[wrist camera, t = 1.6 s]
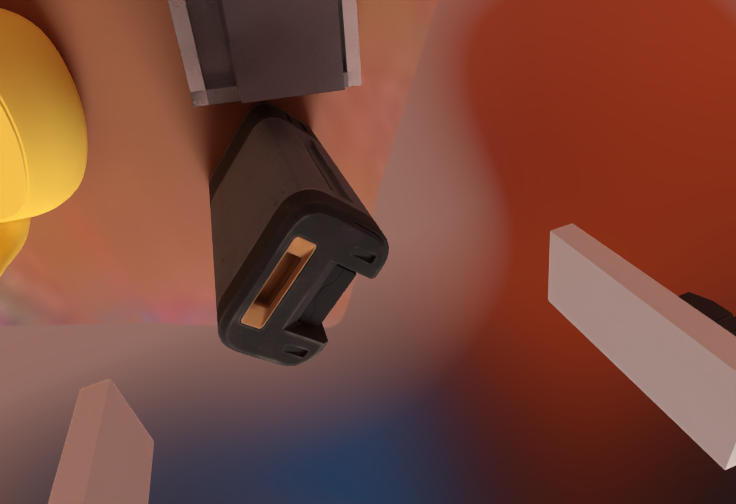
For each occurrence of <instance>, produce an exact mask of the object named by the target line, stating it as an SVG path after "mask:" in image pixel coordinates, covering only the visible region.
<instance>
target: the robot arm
mask: <svg viewBox="0 0 736 504" xmlns="http://www.w3.org/2000/svg"><path fill="white" fill-rule="evenodd" d="M548 300H549V302H551V303H552V304H553V305H554V306H555V307H556V308H557V309H558V310H559V311H560V312H561V313H562V314H563V315H564V316H565V317H566V318H567V319H568V320H569V321H570V322H571V323H573V324H574V326H575V327H577V328H578V329H579V330H580V331H581V332H582V333H583V334H584V335H585V336H586V337H587V338H588V339H589V340H590V341H591V342H592V343H593V344H594V345H595V346H596V347H598V348H599V350H601V351H602V352H603V353H604V354H605V355H606V356H607V357H608V358H609V359H610V360H611V361H612V362H613V363H614V364H615V365H616V366H617V367H618V368H619V369H620V370H621V371H622V372H624V373H625V374H626V376H628V377H629V378H630V379H631V380H632V381H633V382H634V383H635V384H636V385H637V386H638V387H639V388H640V389H641V390H642V391H643V392H644V393H645V394H646V395H647V396H648V397H649V398H650V399H652V401H654V402H655V403H656V404H657V405H658V406H659V407H660V408H661V409H662V410H663V411H664V412H665V413H666V414H667V415H668V416H669V417H670V418H671V419H672V420H673V421H675V423H676V424H677V425H679V426H680V427H681V428H682V429H683V430H684V431H685V432H686V433H687V434H688V435H689V436H690V437H691V438H692V439H693V440H694V441H695V442H696V443H697V444H698V445H699V446H700V447H701V448H703V450H705V451H706V452H707V453H708V454H709V455H710V456H711V457H712V458H713V459H714V460H715V461H716V462H717V463H718V464H719V465H720V466H721V467H722V468H723V469H724V470H726V469H729V468H731V467H733V466H735V465H736V317H734V316H733V314H732V313H731V312H729V311H728V310H726V309H724V308H723V307H721V306H720V305H718V304H717V303H715V302H714V301H712V300H709V299H706V298H703V297H701V296H698V295H695V294H693V293H690V292H688V293H686V294H683V295H680V296H676V295H675V294H673V293H672V292H671V291H669V290H668V289H666V288H665V287H664V286H662V285H660V284H659V283H658V282H656V281H655V280H653V279H652V278H650V277H649V276H648V275H646V274H645V273H643V272H642V271H640V270H639V269H637V268H636V267H634V266H633V265H632V264H630V263H629V262H627V261H626V260H624V259H623V258H622V257H620V256H619V255H617V254H616V253H614V252H613V251H612V250H610V249H609V248H607V247H606V246H604V245H603V244H601V243H600V242H599V241H597V240H596V239H594V238H593V237H591V236H590V235H588V234H587V233H585V232H584V231H583V230H581V229H580V228H578V227H577V226H575V225H574V224H569V225H566V226H563V227H560V228H557V229H554V230H552V231H550V255H549V286H548ZM153 445H154V441H153V439H152V438H151V437H150V435H149V434H148V432H147V431H146V429H145V428H144V427H143V425H142V424H141V422H140V421H139V420H138V418H137V416H136V415H135V413H134V412H133V411H132V409H131V408H130V406H129V405H128V403H127V402H126V400H125V399H124V397H123V396H122V395H121V393H120V392H119V390H118V389H117V388H116V386H115V385H114V383H113V382H112V380H111V379H110V378H109V379H106V380H103V381H100V382H98V383H94V384H91V385H88V386H86V387H83V388H80V392H79V395H78V398H77V402H76V405H75V409H74V413H73V416H72V420H71V423H70V427H69V430H68V434H67V438H66V441H65V445H64V448H63V452H62V456H61V459H60V463H59V466H58V470H57V474H56V477H55V480H54V484H53V487H52V491H51V495H50V498H49V502H48V504H148V498H149V488H150V477H151V466H152V456H153Z"/></svg>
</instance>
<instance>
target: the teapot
mask: <svg viewBox="0 0 736 504" xmlns="http://www.w3.org/2000/svg"><path fill="white" fill-rule="evenodd" d="M87 153H88V136H87V126H86V120H85V115H84V110H83V107H82V103H81V100H80V96H79V94H78V91H77V89H76V86H75V83H74V81H73V79H72V77H71V75H70V73H69V70H68V68H67V67H66V65H65V63H64V61H63V59H62V57H61V56H60V54H59V52H58V51H57V49H56V48H55V46H54V45H53V43H52V42H51V40H50V39H49V38H48V37H47V36H46V35H45V34H44V32H43V31H42V30H41V29H40V28H38V27H37V26H36V25H35V24H33V23H32V22H31V21H29V20H27V19H26V18H24V17H22V16H21V15H19V14H16V13H13V12H11V11H8V10H5V9H1V8H0V277H1V275H2V273H3V272H4V270H5V269H6V268H7V266H8V265H9V264H10V263H11V261H12V260H13V259H14V258H15V256H16V255H17V254H18V252H19V251H20V250H21V248H22V246H23V245H24V243H25V241H26V238H27V236H28V232H29V227H30V221H31V217H34V216H37V215H40V214H43V213H45V212H48V211H50V210H52V209H54V208H56V207H58V206H59V205H60V204H62V203H63V202H64V201H66V200H67V199H68V198H69V197H70V196H71V195H72V194H73V193H74V192H75V191H76V190H77V188H78V187H79V185H80V183H81V181H82V179H83V176H84V172H85V168H86V162H87Z"/></svg>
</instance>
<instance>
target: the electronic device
mask: <svg viewBox="0 0 736 504" xmlns="http://www.w3.org/2000/svg"><path fill="white" fill-rule="evenodd" d="M209 193H210V208H211V224H212V241H213V257H214V274H215V290H216V306H217V321H218V334H219V337H220V339H221V341H222V343H223V344H224V345H226V346H227V347H228V348H230V349H232V350H234V351H237V352H240V353H243V354H246V355H250V356H253V357H256V358H259V359H263V360H266V361H269V362H273V363H276V364H280V365H285V366H296V365H300V364H304V363H306V362H308V361H310V360H311V359H313V358H314V357H315V356H316V355H318V354H319V352H320V351H321V350H322V349H323V348H324V347H325V345H326V344H327V343H328V339H327V336H326V334H325V331H324V328H323V325H322V322H323V320H324V319H325V317H326V316H327V315H328V313H329V312H330V310H331V309H332V308H333V306H334V305H335V304H336V302H337V301H338V299H339V298H340V297H341V295H342V294H343V292H344V291H345V290H346V288H347V287H348V286H349V284H350V283H351V281H352V280H353V279H354V277H355V276H356V272H357V273H359V274H361V275H364V276H366V277H368V278H370V279H372V278H375V277H376V276H377V274H378V273H379V271H380V270H381V269H382V267H383V265H384V264H385V261H386V259H387V256H388V250H389V246H388V242H387V239H386V237H385V236H384V234H383V233H382V231H381V230H380V229H379V227H378V225H377V224H376V222H375V221H374V220H373V218H372V217H371V215H370V214H369V212H368V211H367V210H366V208H365V207H364V205H363V204H362V202H361V201H360V199H359V198H358V197H357V195H356V194H355V192H354V191H353V189H352V188H351V186H350V185H349V183H348V182H347V181H346V179H345V178H344V176H343V175H342V173H341V172H340V170H339V169H338V168H337V166H336V165H335V163H334V162H333V160H332V159H331V157H330V156H329V155H328V153H327V152H326V150H325V149H324V148H323V146H322V145H321V143H320V142H319V140H318V139H317V137H316V136H315V135H314V133H313V132H312V130H311V129H310V128H309V126H308V125H307V124H305V123H304V122H303V121H301V120H299V119H298V118H296V117H295V116H293V115H291V114H290V113H288V112H286V111H285V110H283V109H281V108H280V107H278V106H276V105H274V104H271V103H267V102H264V103H259V104H257V105H255V106H253V107H252V108H251V109H250V110H249V111H248V113H247V114H246V115H245V117H244V119H243V121H242V122H241V124H240V126H239V128H238V129H237V131H236V133H235V135H234V136H233V138H232V140H231V142H230V143H229V145H228V147H227V149H226V150H225V152H224V154H223V156H222V158H221V159H220V161H219V163H218V165H217V166H216V168H215V170H214V172H213V173H212V175H211V178H210V181H209Z"/></svg>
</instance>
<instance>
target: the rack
mask: <svg viewBox="0 0 736 504" xmlns="http://www.w3.org/2000/svg"><path fill="white" fill-rule="evenodd" d="M168 4H169V8H170V12H171V16H172V20H173V24H174V28H175V32H176V36H177V40H178V44H179V48H180V52H181V56H182V61H183V65H184V69H185V73H186V77H187V81H188V85H189V89H190V93H191V97H192V101H193V105H194V107H197V106H205V105H213V104H220V103H228V102H235V101H241V102H242V103H248V102H256V101H264V100H271V99H279V98H286V97H294V96H301V95H309V94H316V93H324V92H331V91H339V90H345V87H350V86H357V85H362V83H361V67H360V51H359V35H358V19H357V3H356V0H168Z"/></svg>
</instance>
